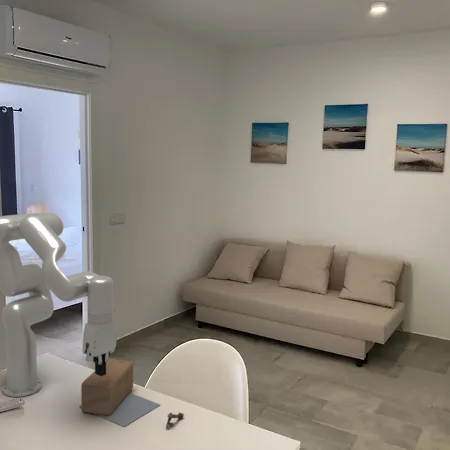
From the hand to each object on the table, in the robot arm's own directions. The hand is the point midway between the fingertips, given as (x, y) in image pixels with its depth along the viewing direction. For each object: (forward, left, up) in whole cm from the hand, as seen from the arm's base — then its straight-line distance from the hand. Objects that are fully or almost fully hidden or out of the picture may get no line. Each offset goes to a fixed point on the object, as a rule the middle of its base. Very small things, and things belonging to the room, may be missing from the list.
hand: (100, 374), depth 154 cm
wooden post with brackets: (+21, +11, -14) cm, 28 cm away
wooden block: (-2, -1, -9) cm, 9 cm away
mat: (0, +8, -14) cm, 16 cm away
